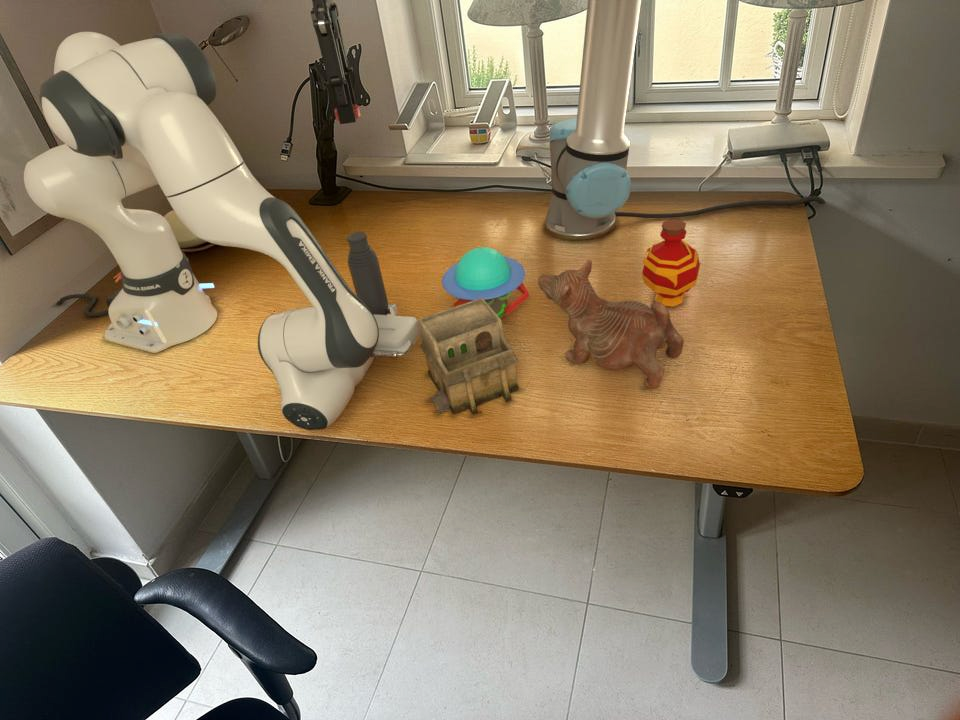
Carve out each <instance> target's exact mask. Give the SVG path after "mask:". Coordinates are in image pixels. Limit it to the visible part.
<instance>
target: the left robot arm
mask: <svg viewBox="0 0 960 720" xmlns="http://www.w3.org/2000/svg"><path fill="white" fill-rule="evenodd" d="M38 95H39V96H38V99H39V102H40V106H41V108H42V113H43V116H44V118H45V121H46V122H47V124H48V126H49V128H50V129H51V131H52V132H53V133H54V135H55V136H56V137H58V139H59V140H60V141H61V142H63V144H60V145H58V146H54V147H52V148H49V149H48V150H46V151H44V152H42V153H41V154H39V155H37V156H35V157H34V158H31V160H29V161H28V162H26V164H25V167H24V171H23V183H24V187H25V190H26V193H27V195H28V196H29V198H30V199H31V200H32V202H33V203H34V204H35V205H36V206H37V207H39V208H40V209H41V210H42V211H44V212H46V213H47V214H50V215H51V216H55V217H57V218H62V219H67V220H70V221H74V222H75V223H79V224H81V225H83V226H85V227H87V228H88V229H89V230H91V231H92V232H94V233H95V234H96V235H98V237H100V239H101V240H102V241H103V242H104V244H105V245H106V246H107V248H108V249H109V251H110V252H111V255H112V256H113V258H114V259H115V261H116V263H117V264H118V267H119V269H120V271H119V272H118V273H117V274H116V275H115V276H113V279H116V280H115V283H118V282H119V281H120V280H121V284H122V287H121V288H120V289H118V290H117V291H115V292H114V293H113V294H111V295H110V296H108V297H107V298H106V305H107V307H108V308H107V309H105V310H104V311H99V312H90V310H91V309H93V307H94V306H95V304H96V303H97V298H96V297H95V295H91V294H85V293H74V294H68V295H64V296H62V297H60V298H59V299H60V301H58V300H57V302H56V306H61V305H62V303H64V302H66V301H68V300H73V299H89V300H91V301H90V302H89V304H87V306H86V307H84V310H83V314H84V315H85V316H87V317H90V318H99V317H103V316H107V315H108V317H109V320H110V324H109V325H108V327H107V328H106V330H105V332H104V335H103V337H104V339H105V341H107V342H110V343H113V344H117V345H121V346H125V347H129V348H133V349H137V350H140V351H143V352H144V351H145V352H148V353H151V354H156V353H160V352H162V351H165V350H166V349H168V348H170V347H173V346H175V345H179V344H182V343H187V342H188V341H190V340H193V339H195V338H197V337H199V336H200V335H202V334H204V333H206V332H207V331H208V330H209V329H210V328H211V327H212V326H214V324H215V323H216V321H217V320H218V310H217V309H216V308H215V306H214V305H213V304H212V300H211V298H210V296H209V295H208V294H206V293H205V291H204V290H203V289H214V288H215V285H214V282H211V283H209V282H207V283H206V282H205V283H199V281H198V279H197V278H196V276H195V274H194V272H193V269H192V266H191V264H190V261H189V258H188V257H187V255H186V254H185V252H183V251H181V250H180V247H179V245H178V243H177V240H176V238H175V236H174V234H173V231H172V229H171V227H170V225H169V223H168V221H167V220H166V219H165V218H164V216H163V215H161V214H160V213H158V212H156V211H153V210H147V209H137V208H136V209H135V208H127V207H124V205H123V203H122V200H123V199H125V198H126V197H129V196H132V195H134V194H137V193H140V192H142V191H144V190H147V189H150V188H152V187H155V186H158V185H159V188H160V189H161V191H162V192H163V195H164V196H165V197H166V199H167V201H168V203H169V205H170V206H171V208H172V210H174V211H175V213H176V214H177V216H178V217H179V219H180V220H181V221H182V223H183V224H184V225H185V226H186V227H187V228H188V229H189V230H190V231H191V232H192V233H193V234H194V235H195V236H197V237H199V238H201V239H203V240H205V241H207V243H209V244H212V243H214V244H215V245H218V246H223V247H232V248H240V249H246V250H249V251H250V250H251V251H254V252H258V253H261V254H264V255H267V256H269V257H271V258H272V259H273V260H275V261H277V262H278V263H280V264H281V266H283V267H284V269H286V272H288V274H289V275H290V277H291V278H292V279H293V280H294V282H295V283H296V285H297V286H298V287H299V289H300V291H302V293H303V294H304V295H305V297H306V298H307V300H308V301H309V303H310V304H311V305H309V306H304V307H298V308H294V309H288V310H283V311H280V312H276V313H272V314H269V315H268V316H267V317H266V318H264V320H263V322H262V323H261V325H260V327H259V331H258V334H257V350H258V354H259V356H260V359H261V360H262V362H263V363H264V365H265V366H266V367H267V368H268V370H269V371H270V372H271V373H272V374H273V376H274V379H275V381H276V383H277V386H278V389H279V392H280V411H281V414H282V415H283V417H284V419H286V420H287V421H288V423H290V424H292V425H294V426H295V427H296V428H297V427H298V428H299V429H304V430H307V431H319V430H325V429H327V428H329V427H330V426H331V425H333V424H334V423H335V422H336V420H337V419H338V418H339V417H340V416H341V415H342V413H343V412H344V411H345V409H346V408H347V406H348V405H349V403H350V402H351V399H352V398H353V396H354V393H355V389H356V388H355V387H356V386H358V385H359V384H360V383H361V382H362V381H363V379H364V377H365V376H366V374H367V372H368V371H369V369H370V367H371V365H372V364H373V362H374V360H375V358H389V359H398V358H399V357H404V356H406V355H408V353H409V352H410V350H411V349H412V348H413V347H414V345H415V344H416V343H417V341H418V339H419V338H420V336H421V331H420V326H419V322H418V319H417V318H416V317H415V316H409V315H397V314H398V311H399V310H398V309H399V308H398V305H397V304H396V303H388V306H387V307H386V308H385V309H386V312H387V315H374V314H372V312H371V311H370V309H369V308H368V307H367V306H366V305H365V304H364V303H363V302H362V300H361V299H359V298H358V297H357V295H356V292H355V291H353V290H352V288H351V287H350V286H349V284H348V283H347V281H345V279H344V278H343V276H342V274H341V273H340V272H339V271H338V269H337V268H336V266H335V265H334V263H333V262H332V260H331V259H330V257H329V256H328V255H327V253H326V251H325V250H324V248H322V246H321V244H320V243H319V241H318V239H316V238H315V236H314V234H313V233H312V231H311V230H310V229H309V227H308V226H307V225H306V223H305V222H304V221H303V219H302V218H301V217H300V215H298V213H297V212H296V210H294V208H293V207H291V205H289V204H288V203H287V202H285V201H283V200H282V199H279V198H276V197H275V196H274V195H273V194H271V193H270V192H269V191H268V190H267V189H266V188H264V187H263V185H262V184H261V183H260V182H259V181H258V180H257V179H256V178H255V176H254V175H253V174H252V172H251V170H250V169H249V167H248V166H247V165H246V162H245V161H244V159H243V157H242V155H241V153H240V152H239V150H238V148H237V147H236V145H235V143H234V141H233V140H232V138H231V136H230V135H229V134H228V132H227V131H226V129H225V128H224V126H223V124H222V123H221V122H220V121H219V119H218V118H217V117H216V115H215V114H214V112H213V111H212V110H211V109H210V107H209V106H210V105H211V104H212V102H214V101H215V99H216V96H217V79H216V74H215V71H214V69H213V67H212V64H211V62H210V60H209V58H208V57H207V55H206V54H205V52H204V51H203V50H202V48H201V47H200V45H198V44H197V43H196V42H195V41H194V40H193V39H191V38H189V37H188V36H186V35H184V34H182V33H179V32H165V33H158V34H157V33H156V34H153V35H151V36H150V37H148V38H146V39H142V40H138V41H133V42H130V43H126V44H122V45H121V44H119V43H118V42H117V41H116V40H114V39H113V38H111V37H110V36H107V35H105V34H103V33H99V32H94V31H79V32H76V33H73V34H70V35H68V36H67V37H66V38H64V39H63V40H62V41H61V43H60V44H59V45H58V48H57V50H56V53H55V59H54V65H53V75H51V76H50V77H48V78H47V79H46V80H45V81H44V82H43V83H42V84H41V85H40V88H39V94H38Z"/></svg>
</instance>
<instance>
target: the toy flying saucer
mask: <svg viewBox="0 0 960 720" xmlns="http://www.w3.org/2000/svg"><path fill="white" fill-rule="evenodd" d="M525 279H526V269H525V267H524V266H523V265H522V264H521V262H519V261H518V260H516V259H515V258H512V257H509V256H506V255H503V254H502V253H501V252H500V251H498V250H497V249H494V248H491V247H488V246H480V247H475V248H472V249H470V250H468V251H467V252H466V253H464V254H463V255H462V256H461V258H460V259H459V260H458V261H457V262H456V263H454V264H452V265H451V266H450V267H449V268H448V269H447V270H446V271H445V272H444V274H443V276H442V278H441V286H442V288H443V290H444V291H445V292H446V293H448V294H449V295H451V296H452V297H454V298H456V299H458V300H456V301H455V302H453V307H456V306H459V305H462V304H465V303H468V302H471V301H474V300H477V299H480V298H483V299H484V300H485V301H486V303H487V304H488V305H489V306H490V307H491V308H492V310H493V311H494V312H495V313H496V314H497V316H498V317H499V318H500V319H502V318H504V316H506V315H509V314H511V313H512V311H514V310H515V309H517V308H518V307H519V306H520V305H521V304H522V303H523V302H525V301H526V300H527V299H528V298H529V297H530V291H529V290H528V289H527V287H526V285H524V283H523V282H524V280H525ZM515 290H518V291H519V292H520V293H521V295H520V297H518V298H517V299H516V300H515V301H514V302H513V303H511V304H510V305H509V301H508V299H509V298H510V297H511V295H512V294H513V292H514V291H515Z"/></svg>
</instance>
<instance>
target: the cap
mask: <svg viewBox="0 0 960 720" xmlns="http://www.w3.org/2000/svg"><path fill="white" fill-rule="evenodd" d="M352 105H353V109H354V114H355V118H356V120H357V119H359V118H360V117H361V115H362V114H361V110H360V106H359V105H358V104H357V103H356V104H352ZM333 111H334V115H335V120H336V121H338V122H340V121H339V117H338V113H337V109H336V108H334V110H333Z"/></svg>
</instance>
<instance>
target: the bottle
mask: <svg viewBox="0 0 960 720" xmlns="http://www.w3.org/2000/svg"><path fill="white" fill-rule="evenodd" d="M346 241H347V243H348V246H349V250H348V255H347V266H348V270H349V273H350V276H351V281H352V284H353V288H354V293H355V294H356V295H357V297H358V298H359V299H361V300H362V302H363V303H364V304H365V305H366V306H367V307H368V308H369V309H370V311H371V312H372V314H374V315H387V312H386V309H385V308H386V307H387V306H388V304H389V300H388V296H387V291H386V286H385V284H384V280H383V276H382V271H381V267H380V262H379V258H378V255H377V253H376V252H375V250H374V249H373V247H371V245H370V244H369V241H368V234H366V232H364V231H354V232H351V233H349V234H348V235H347V238H346Z"/></svg>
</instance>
